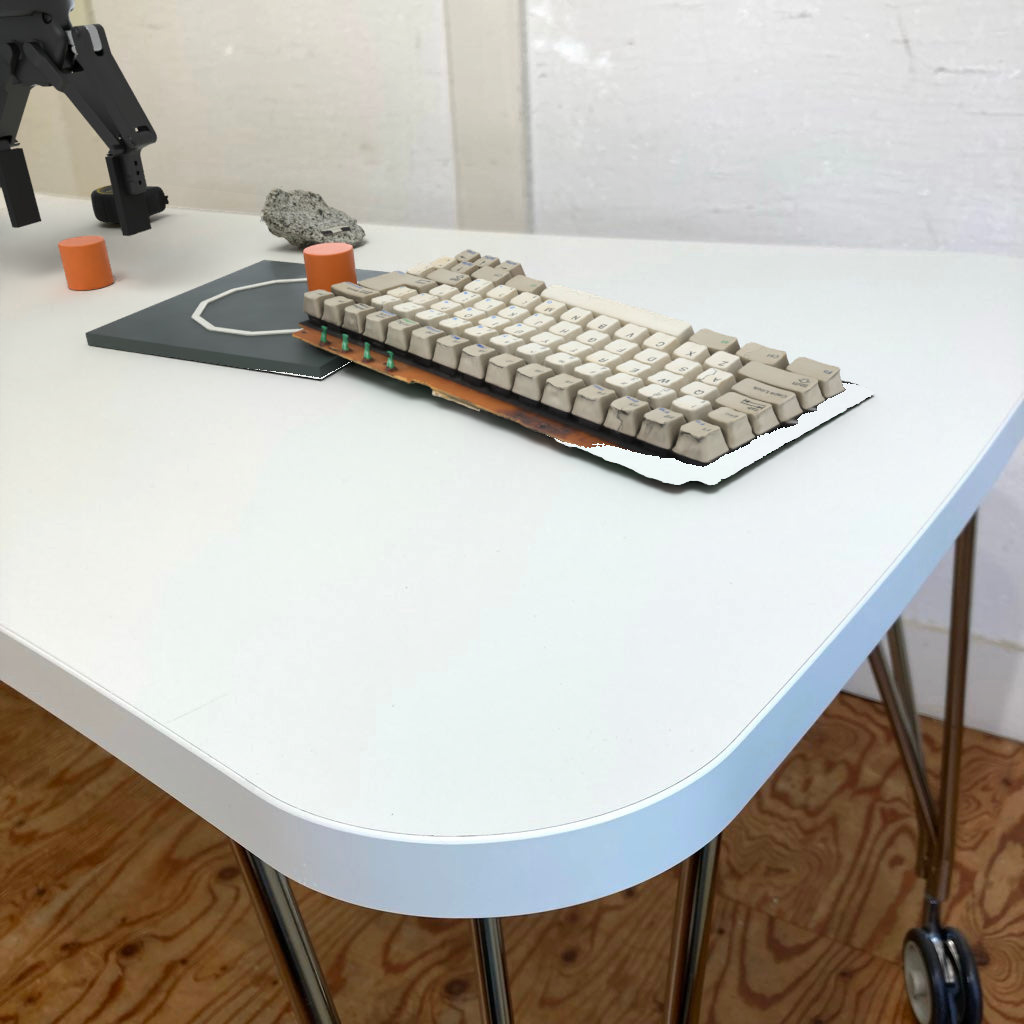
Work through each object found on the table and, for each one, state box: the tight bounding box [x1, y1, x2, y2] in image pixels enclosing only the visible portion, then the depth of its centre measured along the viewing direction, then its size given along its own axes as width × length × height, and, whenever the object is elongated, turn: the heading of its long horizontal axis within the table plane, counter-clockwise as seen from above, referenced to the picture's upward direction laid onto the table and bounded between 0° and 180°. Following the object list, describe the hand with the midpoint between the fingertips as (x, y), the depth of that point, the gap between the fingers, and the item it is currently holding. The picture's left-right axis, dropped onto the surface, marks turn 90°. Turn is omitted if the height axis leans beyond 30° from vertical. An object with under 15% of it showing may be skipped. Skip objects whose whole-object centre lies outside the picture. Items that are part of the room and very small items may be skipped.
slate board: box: [85, 259, 392, 378], centre depth 86 cm, size 22×22×1 cm
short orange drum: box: [302, 243, 357, 292], centre depth 86 cm, size 4×4×4 cm
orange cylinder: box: [57, 235, 115, 291], centre depth 97 cm, size 4×4×4 cm
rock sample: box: [259, 185, 366, 248], centre depth 106 cm, size 10×8×9 cm
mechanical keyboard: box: [292, 248, 859, 467], centre depth 72 cm, size 38×19×3 cm, turn 46°
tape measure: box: [90, 184, 170, 225], centre depth 119 cm, size 7×7×4 cm
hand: (80, 228), depth 95 cm, fingers open, 13 cm apart
